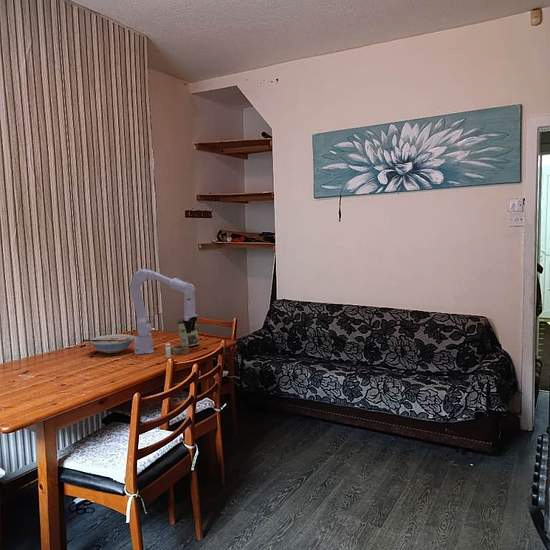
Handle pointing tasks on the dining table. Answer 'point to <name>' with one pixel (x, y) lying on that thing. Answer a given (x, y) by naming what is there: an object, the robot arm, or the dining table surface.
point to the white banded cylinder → (168, 350)
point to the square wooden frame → (179, 349)
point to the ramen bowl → (111, 343)
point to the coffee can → (187, 335)
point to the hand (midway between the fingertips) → (190, 331)
